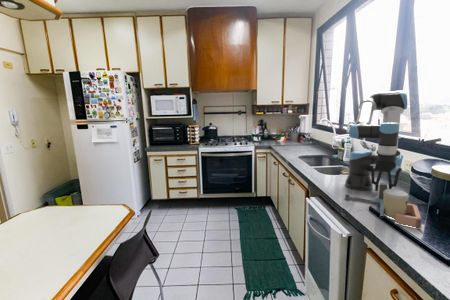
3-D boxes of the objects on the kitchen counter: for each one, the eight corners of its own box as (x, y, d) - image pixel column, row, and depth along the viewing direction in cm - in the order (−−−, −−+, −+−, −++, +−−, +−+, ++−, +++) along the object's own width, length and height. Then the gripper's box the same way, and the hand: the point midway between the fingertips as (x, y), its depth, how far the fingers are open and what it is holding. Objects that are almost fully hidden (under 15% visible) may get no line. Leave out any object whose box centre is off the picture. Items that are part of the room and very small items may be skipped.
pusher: (374, 202, 120) (376, 182, 118) (388, 204, 117) (390, 183, 115) (374, 215, 106) (375, 193, 104) (389, 218, 103) (392, 195, 101)
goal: (393, 209, 112) (394, 201, 111) (415, 213, 107) (416, 204, 106) (394, 224, 99) (395, 214, 98) (420, 229, 94) (421, 219, 93)
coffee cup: (410, 222, 100) (413, 196, 98) (387, 220, 102) (389, 195, 100) (399, 212, 109) (401, 188, 107) (377, 211, 111) (379, 188, 109)
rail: (345, 197, 128) (346, 192, 127) (403, 207, 113) (404, 202, 113) (345, 199, 126) (345, 194, 125) (404, 209, 111) (404, 203, 111)
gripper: (367, 153, 114) (363, 197, 118) (407, 156, 105) (402, 203, 109) (368, 150, 120) (364, 192, 124) (406, 153, 111) (401, 198, 115)
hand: (382, 197), depth 117 cm, fingers closed on pusher, 3 cm apart
